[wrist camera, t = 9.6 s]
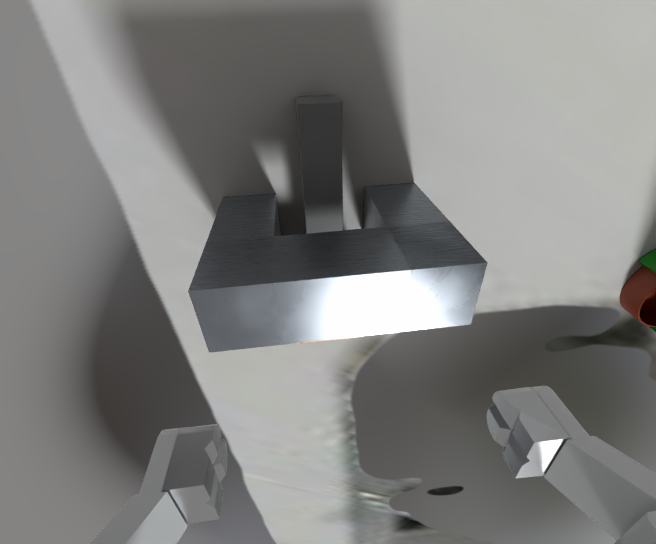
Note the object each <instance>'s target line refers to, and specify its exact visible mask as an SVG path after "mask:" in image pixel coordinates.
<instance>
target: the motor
mask: <svg viewBox="0 0 656 544" xmlns="http://www.w3.org/2000/svg"><path fill="white" fill-rule="evenodd" d="M639 262H640V263H641V264H642V265H644V266H643V267H642V268H640V269H639V270H638V271H637V272H636V273H635V274H634V275H633V276H632V277H631V278H630V279H629V280H628V281H627V283H626V284H625V285H624V287H623V289H622V291H621V294H620V304H621V306H622V307H623V308H624V309H625V310H626V311H628V312H629V313H630V314H631V315H633V316H634V317H635V318H636V319H637V320H639V321H640V322H641V323H642V324H644V325H646V326H649V327H650V328H652V329H653V330H654V331H655V332H656V250H654V251H652V252H650V253H648V254H647V255H645V256H643V257H642V258H640V259H639Z"/></svg>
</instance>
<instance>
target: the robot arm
mask: <svg viewBox="0 0 656 544" xmlns="http://www.w3.org/2000/svg"><path fill="white" fill-rule="evenodd" d="M492 400H493V401H494V403H495V404H494V405H492V406H491V407H490V408H489V409H488V412H487V424H488V427H489V430H490V433H491V434H492V436H493V438H494V440H495V441H496V442H497V443H499V444H500V445H502V446H503V447H504V448H503V457H504V459H505V460H506V462H507V464H508V466H509V467H510V470H511V471H512V473H513V475H514V477H515V478H524V477H533V476H543V475H545V476H544V478H546V479H547V480H548V481H549V482H550V483H551V484H552V485H554V486H555V487H556V488H557V489H558V490H559V491H560V492H562V493H563V494H564V495H565V496H566V497H567V498H568V499H570V500H571V501H572V502H573V503H574V504H575V505H576V506H578V507H579V508H580V509H581V510H582V511H583V512H584V513H586V514H587V515H588V516H589V517H590V518H591V519H592V520H594V521H595V522H596V523H597V524H598V525H600V527H602V528H603V529H604V530H605V531H606V532H607V533H608V534H610V535H611V536H612V537H613V538H614V539H615V540H616V542H615V543H614V544H656V474H655V473H654V472H652V471H651V470H649V469H647V468H646V467H644V466H642V465H641V464H639V463H638V462H636V461H634V460H632V459H631V458H629V457H628V456H626V455H625V454H623V453H621V452H620V451H618V450H617V449H615V448H613V447H611V446H610V445H608V444H607V443H605V442H603V441H602V440H600V439H599V438H597V437H595V436H591V437H590V436H589V435H588V434H587V432H586V431H585V430H584V429H583V428H582V426H581V425H580V424H579V423H578V422H577V420H576V419H575V418H574V416H573V415H572V414H571V413H570V411H569V410H568V409H567V408H566V407H565V405H564V404H563V403H562V401H561V400H560V399H559V398H558V396H557V395H556V394H555V393H554V391H553V390H552V389H551V388H549V387H548V386H538V387H530V388H528V387H527V388H520V389H511V390H504V391H498V392H496V393H494V396H493V398H492ZM220 437H221V429H220V426H219V424H215V425H206V426H197V427H188V428H176V429H168V430H162V431H161V433H160V434H159V436H158V438H157V441H156V444H155V447H154V450H153V453H152V456H151V459H150V462H149V465H148V468H147V471H146V474H145V478H144V480H143V484H142V486H141V490H140V493H139V495H134V496H132V497H131V499H130V500H129V501H128V502H127V503H126V504H125V505H124V506H123V507H122V509H121V510H120V511H119V512H118V513H117V514H116V515H115V517H114V518H113V519H112V520H111V521H110V522H109V523H108V524H107V525H106V527H105V528H104V529H103V530H102V531H101V532H100V533H99V535H98V536H97V537H96V538H95V539H94V540H93V541H92V542H91V544H177V542H178V541H179V539H180V537H181V536H182V534H183V533H184V531H185V529H186V528H187V524H191V523H196V522H203V521H209V520H215V519H219V518H220V512H221V505H222V498H223V489H222V487H221V484H220V482H221V480H222V479H223V478H224V476H225V475H226V468H227V447H226V443H225V440H224V439H222V438H220Z"/></svg>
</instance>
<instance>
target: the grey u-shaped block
mask: <svg viewBox="0 0 656 544" xmlns="http://www.w3.org/2000/svg"><path fill="white" fill-rule="evenodd" d="M486 266H487V262H486V261H485V260H484V258H483V257H482V256H481V255H480V254H479V253H478V252H477V251H476V250H475V249H474V248H473V246H472V245H471V244H470V243H469V242H468V241H467V240H466V239H465V238H464V237H463V236H462V234H461V233H460V232H459V231H458V230H457V229H456V228H455V227H454V226H453V225H452V223H451V222H450V221H449V220H448V219H447V218H446V217H445V216H444V215H443V214H442V213H441V211H440V210H439V209H438V208H437V207H436V206H435V205H434V204H433V203H432V202H431V201H430V199H429V198H428V197H427V196H426V195H425V194H424V193H423V192H422V191H421V190H420V188H419V187H418V186H417V185H416V184H415V183H406V184H393V185H380V186H367V187H365V189H364V229H355V230H343V231H331V232H320V233H308V234H296V235H284V236H281V230H280V222H279V215H278V207H277V199H276V194H263V195H250V196H237V197H224V198H223V199H222V202H221V204H220V207H219V210H218V212H217V215H216V218H215V220H214V223H213V226H212V229H211V231H210V234H209V237H208V239H207V242H206V245H205V248H204V250H203V253H202V256H201V258H200V261H199V264H198V266H197V269H196V272H195V275H194V277H193V280H192V283H191V285H190V288H189V291H188V292H189V295H190V298H191V300H192V303H193V306H194V309H195V312H196V315H197V318H198V321H199V324H200V327H201V330H202V333H203V336H204V339H205V342H206V344H207V347H208V350H209V352H218V351H227V350H237V349H246V348H255V347H264V346H274V345H283V344H292V343H301V342H311V341H320V340H329V339H339V338H348V337H357V336H366V335H376V334H385V333H394V332H403V331H412V330H422V329H431V328H441V327H449V326H459V325H468V324H471V321H472V318H473V314H474V310H475V307H476V303H477V299H478V296H479V292H480V288H481V284H482V281H483V277H484V273H485V270H486Z"/></svg>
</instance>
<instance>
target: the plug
mask: <svg viewBox="0 0 656 544" xmlns="http://www.w3.org/2000/svg"><path fill="white" fill-rule="evenodd" d="M295 101H296V113H297V126H298V139H299V152H300V165H301V178H302V191H303V203H304V216H305V229H306V234H308V233H320V232H331V231H343V189H342V102H341V101H340V100H339V98H338V97H337V96H336V95H318V96H299V97H295ZM357 337H363V336H357ZM357 337H348V338H357ZM348 338H339V339H348ZM329 340H338V339H329ZM329 340H320V341H329ZM311 342H319V341H311ZM301 343H310V342H301Z"/></svg>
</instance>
